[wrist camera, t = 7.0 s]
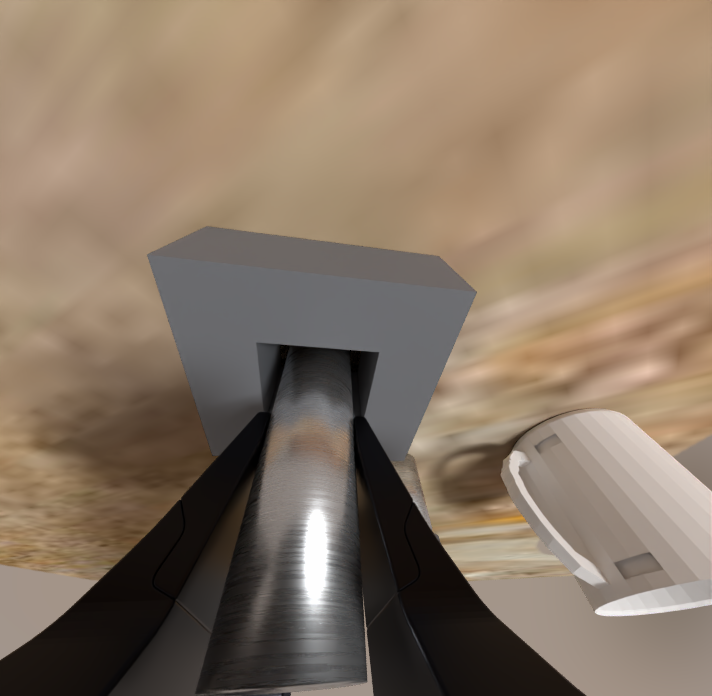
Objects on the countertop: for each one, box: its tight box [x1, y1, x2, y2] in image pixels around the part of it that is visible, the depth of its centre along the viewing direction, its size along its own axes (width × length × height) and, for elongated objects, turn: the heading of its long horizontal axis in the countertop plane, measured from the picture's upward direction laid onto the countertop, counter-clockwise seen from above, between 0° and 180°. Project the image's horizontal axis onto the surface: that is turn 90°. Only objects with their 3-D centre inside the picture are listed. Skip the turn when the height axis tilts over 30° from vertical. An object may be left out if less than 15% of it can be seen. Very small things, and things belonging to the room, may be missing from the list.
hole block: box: [147, 226, 477, 461], centre depth 12 cm, size 10×10×4 cm
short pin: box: [391, 454, 432, 530], centre depth 20 cm, size 3×3×5 cm
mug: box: [501, 408, 712, 616], centre depth 17 cm, size 12×9×9 cm
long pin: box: [195, 345, 367, 696], centre depth 9 cm, size 3×3×10 cm
